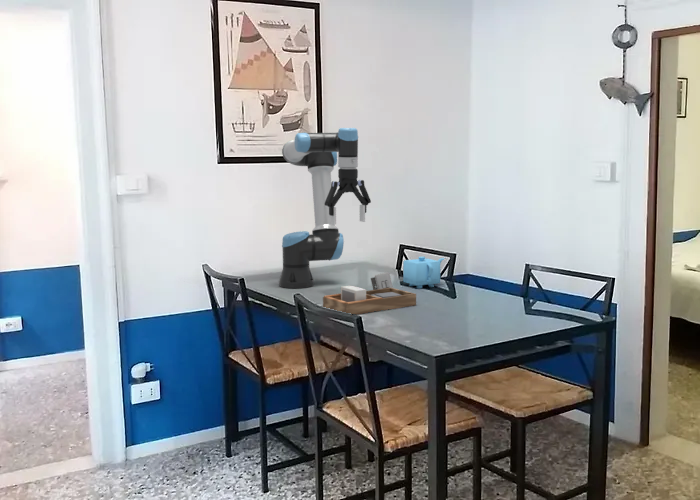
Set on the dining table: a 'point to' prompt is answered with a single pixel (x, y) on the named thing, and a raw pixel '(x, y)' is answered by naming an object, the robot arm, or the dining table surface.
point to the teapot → (421, 272)
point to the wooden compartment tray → (371, 302)
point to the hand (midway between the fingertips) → (348, 222)
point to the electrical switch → (381, 281)
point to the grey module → (386, 294)
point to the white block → (352, 293)
